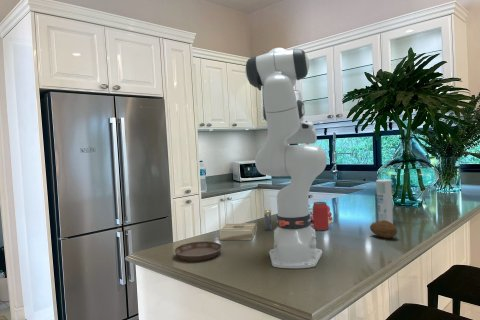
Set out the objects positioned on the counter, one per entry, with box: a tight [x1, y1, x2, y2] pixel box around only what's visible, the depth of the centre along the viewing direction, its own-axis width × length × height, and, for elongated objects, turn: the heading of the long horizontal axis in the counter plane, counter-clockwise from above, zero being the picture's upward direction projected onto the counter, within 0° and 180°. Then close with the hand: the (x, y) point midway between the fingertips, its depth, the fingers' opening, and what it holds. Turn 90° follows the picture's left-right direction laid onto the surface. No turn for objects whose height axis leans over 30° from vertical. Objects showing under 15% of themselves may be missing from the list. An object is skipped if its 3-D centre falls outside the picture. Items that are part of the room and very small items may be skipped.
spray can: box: [375, 179, 394, 225], centre depth 163 cm, size 6×6×20 cm
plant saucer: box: [174, 241, 223, 262], centre depth 135 cm, size 18×18×3 cm
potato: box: [369, 220, 398, 239], centre depth 142 cm, size 7×12×7 cm, turn 36°
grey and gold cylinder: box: [263, 209, 273, 232], centre depth 166 cm, size 3×3×9 cm
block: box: [218, 222, 258, 241], centre depth 159 cm, size 14×14×4 cm
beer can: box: [312, 201, 330, 231], centre depth 161 cm, size 7×7×12 cm
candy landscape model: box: [308, 203, 334, 227], centre depth 179 cm, size 25×24×9 cm
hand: (296, 152), depth 175 cm, fingers open, 8 cm apart
